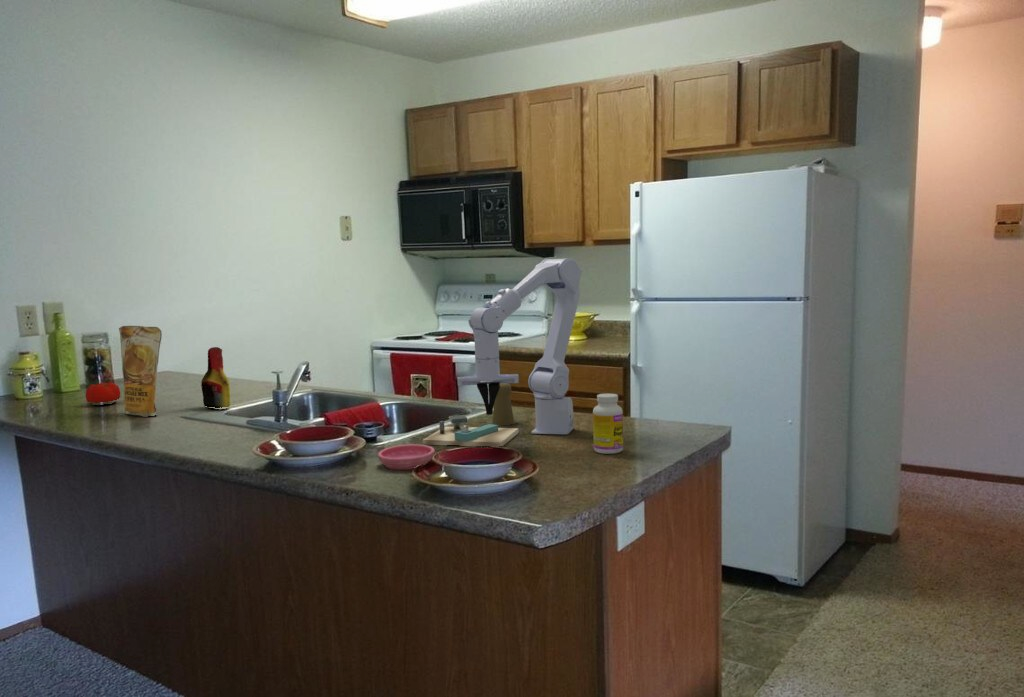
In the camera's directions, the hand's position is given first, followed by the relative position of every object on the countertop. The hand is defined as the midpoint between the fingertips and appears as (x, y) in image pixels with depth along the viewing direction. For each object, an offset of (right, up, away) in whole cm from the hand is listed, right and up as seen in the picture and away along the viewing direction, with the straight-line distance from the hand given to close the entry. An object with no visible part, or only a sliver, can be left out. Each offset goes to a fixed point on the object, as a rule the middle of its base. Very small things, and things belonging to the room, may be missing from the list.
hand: (489, 414), depth 183 cm
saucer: (-18, -10, -15) cm, 25 cm away
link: (-3, -6, +5) cm, 8 cm away
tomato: (-135, -4, +79) cm, 156 cm away
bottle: (-89, -4, +62) cm, 109 cm away
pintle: (-6, -6, +1) cm, 8 cm away
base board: (-5, -7, +6) cm, 10 cm away
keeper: (-10, -6, +12) cm, 16 cm away
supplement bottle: (+27, -8, -11) cm, 30 cm away
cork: (+3, -5, +23) cm, 24 cm away
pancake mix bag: (-111, -5, +57) cm, 125 cm away
